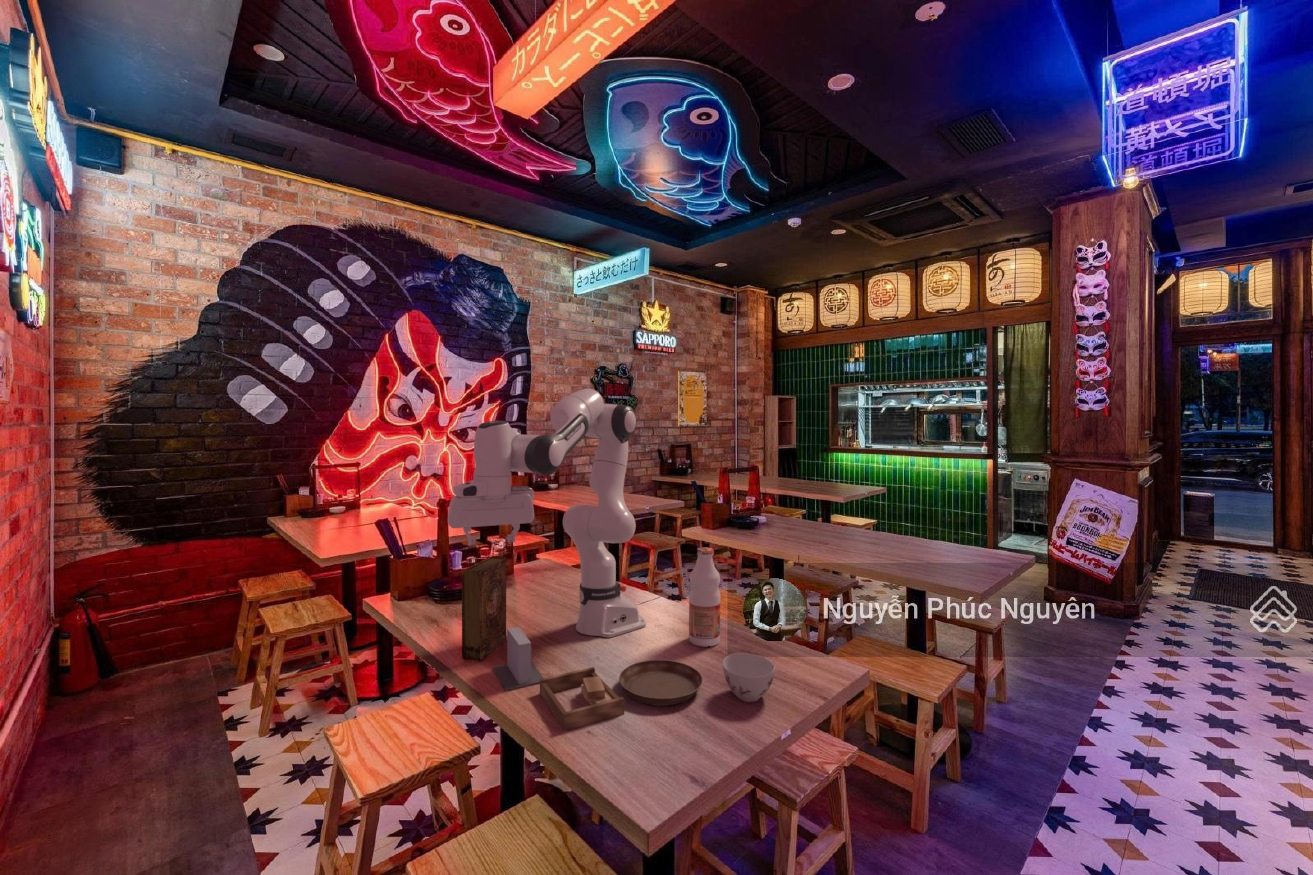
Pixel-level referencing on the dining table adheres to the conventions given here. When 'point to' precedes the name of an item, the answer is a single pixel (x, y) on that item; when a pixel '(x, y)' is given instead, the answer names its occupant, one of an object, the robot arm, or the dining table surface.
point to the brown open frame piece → (585, 713)
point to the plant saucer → (660, 682)
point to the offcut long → (607, 697)
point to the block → (519, 655)
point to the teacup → (748, 675)
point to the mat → (509, 679)
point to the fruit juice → (704, 601)
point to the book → (483, 608)
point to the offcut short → (593, 688)
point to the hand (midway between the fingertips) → (491, 543)
